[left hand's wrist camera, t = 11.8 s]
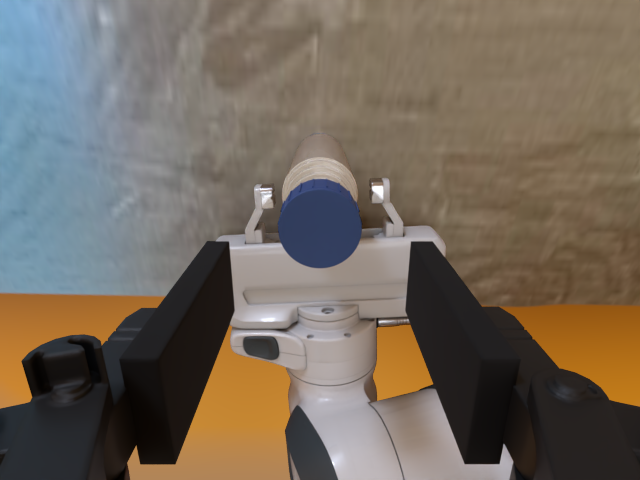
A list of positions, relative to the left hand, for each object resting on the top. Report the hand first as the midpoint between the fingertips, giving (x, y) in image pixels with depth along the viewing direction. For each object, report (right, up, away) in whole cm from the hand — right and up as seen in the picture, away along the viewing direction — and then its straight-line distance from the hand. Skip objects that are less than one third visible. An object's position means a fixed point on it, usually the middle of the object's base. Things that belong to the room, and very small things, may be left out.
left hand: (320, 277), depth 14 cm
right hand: (0, +6, +19) cm, 20 cm away
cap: (0, +2, +5) cm, 5 cm away
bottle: (0, +9, +25) cm, 26 cm away
